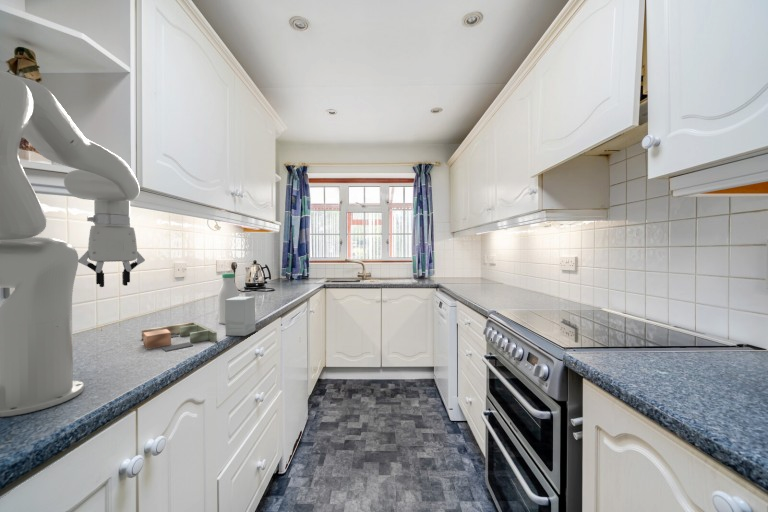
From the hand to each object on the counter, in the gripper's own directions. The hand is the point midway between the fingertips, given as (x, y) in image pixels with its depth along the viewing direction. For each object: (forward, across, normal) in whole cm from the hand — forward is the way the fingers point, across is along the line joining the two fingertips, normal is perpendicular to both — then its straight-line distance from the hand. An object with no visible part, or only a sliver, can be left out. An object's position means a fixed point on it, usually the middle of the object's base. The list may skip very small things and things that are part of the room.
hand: (113, 285), depth 86 cm
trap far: (+19, +14, +8) cm, 25 cm away
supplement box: (+20, +33, -6) cm, 39 cm away
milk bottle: (+20, +37, +15) cm, 44 cm away
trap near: (+19, +14, -8) cm, 25 cm away
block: (+20, +10, 0) cm, 22 cm away
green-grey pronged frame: (+19, +16, 0) cm, 25 cm away
